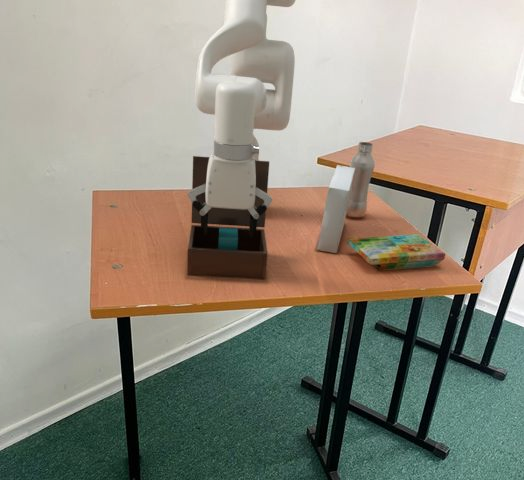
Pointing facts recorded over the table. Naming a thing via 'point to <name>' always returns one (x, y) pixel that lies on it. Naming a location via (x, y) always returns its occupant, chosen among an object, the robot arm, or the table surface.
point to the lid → (222, 214)
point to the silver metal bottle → (360, 179)
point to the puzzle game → (397, 251)
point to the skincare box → (336, 209)
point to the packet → (228, 239)
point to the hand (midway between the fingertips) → (228, 233)
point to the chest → (227, 254)
